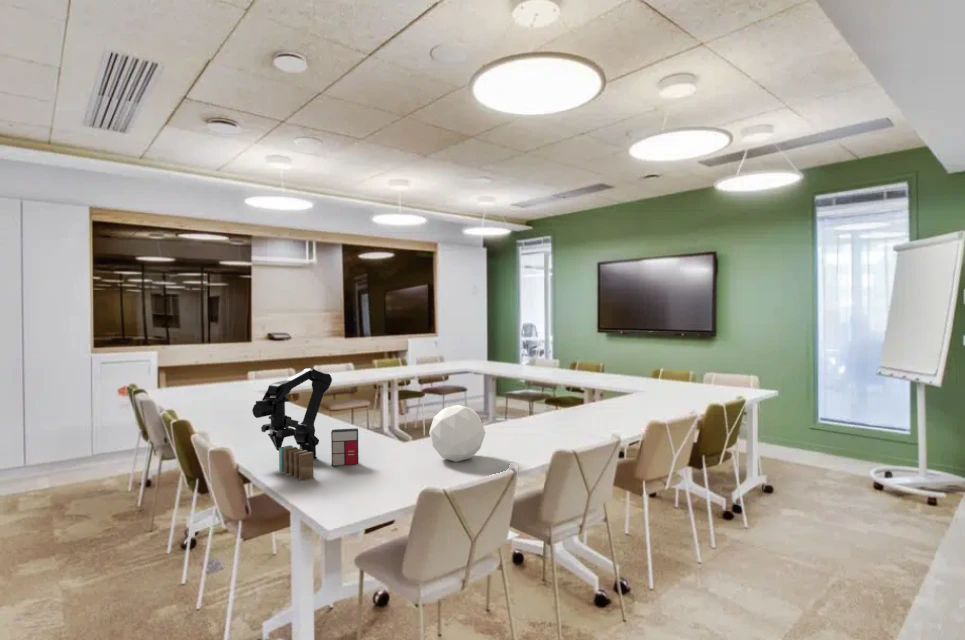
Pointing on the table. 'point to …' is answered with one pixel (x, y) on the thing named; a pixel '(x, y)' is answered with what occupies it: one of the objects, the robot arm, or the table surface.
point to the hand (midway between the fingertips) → (278, 450)
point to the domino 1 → (282, 457)
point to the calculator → (344, 447)
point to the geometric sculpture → (457, 433)
